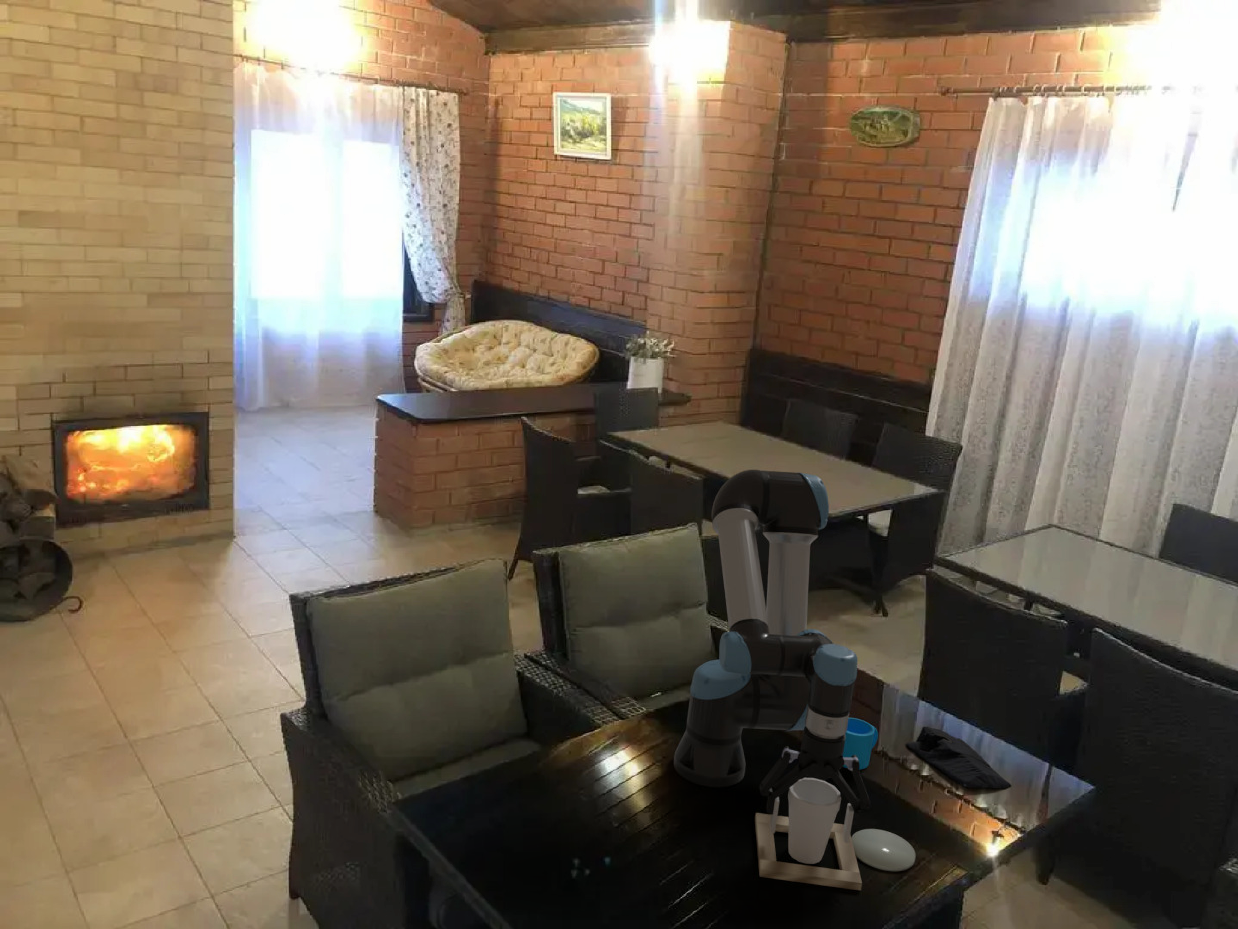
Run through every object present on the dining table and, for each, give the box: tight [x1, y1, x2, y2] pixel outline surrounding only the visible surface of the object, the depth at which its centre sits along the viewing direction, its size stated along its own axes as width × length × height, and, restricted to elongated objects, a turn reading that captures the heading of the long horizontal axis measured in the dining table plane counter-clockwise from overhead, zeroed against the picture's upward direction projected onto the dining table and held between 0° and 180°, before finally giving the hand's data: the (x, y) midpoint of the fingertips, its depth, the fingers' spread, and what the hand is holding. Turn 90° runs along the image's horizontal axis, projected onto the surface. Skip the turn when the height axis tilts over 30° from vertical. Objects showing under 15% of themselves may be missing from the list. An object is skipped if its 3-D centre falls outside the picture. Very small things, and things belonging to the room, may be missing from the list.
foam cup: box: [787, 777, 842, 865], centre depth 190 cm, size 10×9×13 cm
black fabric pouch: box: [906, 726, 1012, 789], centre depth 230 cm, size 15×22×5 cm
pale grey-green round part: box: [851, 828, 916, 872], centre depth 195 cm, size 12×12×1 cm
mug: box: [842, 717, 879, 771], centre depth 228 cm, size 12×8×8 cm
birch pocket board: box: [754, 812, 863, 891], centre depth 192 cm, size 18×18×2 cm
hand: (808, 834), depth 191 cm, fingers open, 13 cm apart
